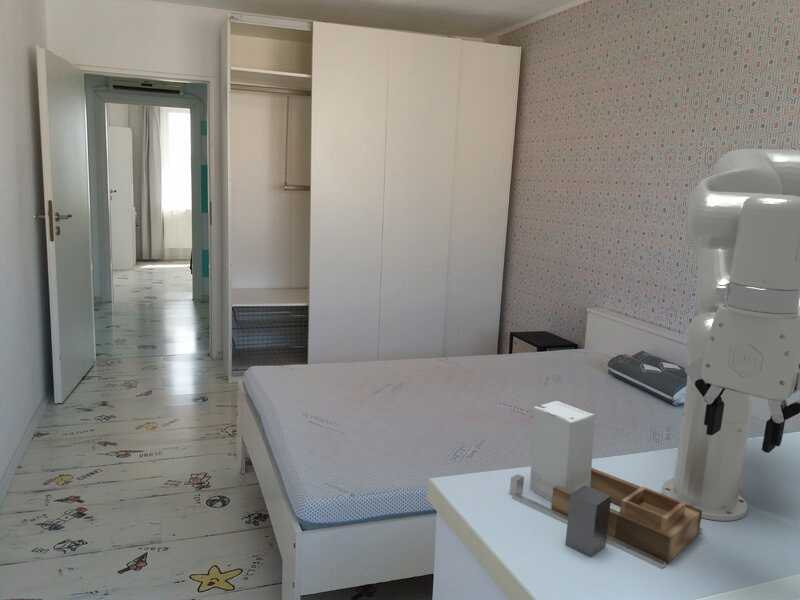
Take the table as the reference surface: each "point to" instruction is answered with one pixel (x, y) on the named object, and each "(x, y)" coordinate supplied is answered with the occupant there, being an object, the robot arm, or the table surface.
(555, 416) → the skincare box
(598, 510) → the gray rectangular block
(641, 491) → the cradle
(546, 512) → the rail
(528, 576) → the table surface
